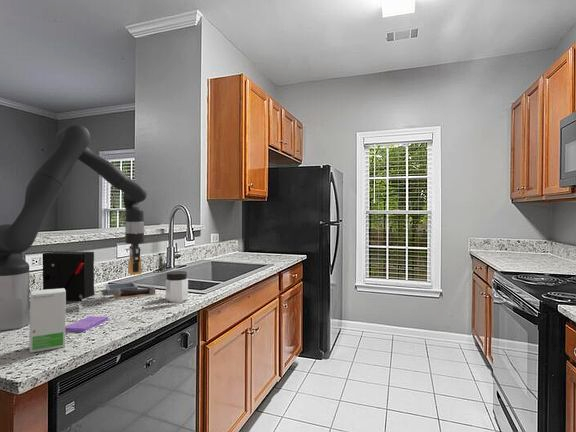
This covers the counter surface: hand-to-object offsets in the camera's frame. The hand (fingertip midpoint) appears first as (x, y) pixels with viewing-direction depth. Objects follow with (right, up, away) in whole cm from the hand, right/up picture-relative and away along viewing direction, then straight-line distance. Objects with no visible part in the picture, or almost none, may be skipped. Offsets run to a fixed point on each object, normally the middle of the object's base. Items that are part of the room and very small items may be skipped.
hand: (134, 270), depth 153 cm
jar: (+20, -12, -6) cm, 24 cm away
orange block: (0, -1, 0) cm, 1 cm away
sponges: (0, -13, -37) cm, 39 cm away
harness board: (0, -12, 0) cm, 12 cm away
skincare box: (0, -13, -55) cm, 56 cm away
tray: (-9, -11, +8) cm, 17 cm away
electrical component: (-26, -12, -3) cm, 29 cm away
